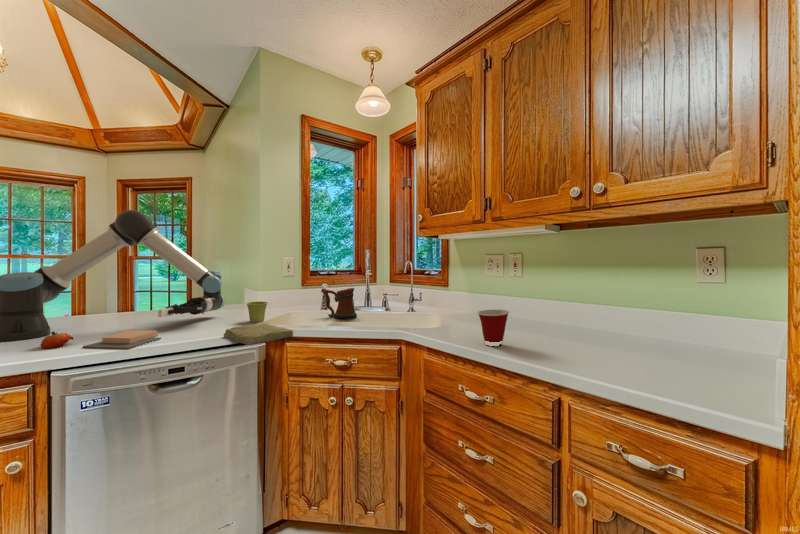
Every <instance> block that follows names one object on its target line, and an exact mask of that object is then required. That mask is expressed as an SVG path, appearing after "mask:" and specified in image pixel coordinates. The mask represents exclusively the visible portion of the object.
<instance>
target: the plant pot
mask: <svg viewBox="0 0 800 534" xmlns="http://www.w3.org/2000/svg"><path fill="white" fill-rule="evenodd" d="M268 303H269V302H268V301H249V302H246V303H245V304H246V307H247V309H248V311H247V312H248V317H249V322H250V323H255V322H256V323H262V322H264V321H265V317H266V310H267V306H268Z"/></svg>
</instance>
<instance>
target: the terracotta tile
mask: <svg viewBox="0 0 800 534" xmlns="http://www.w3.org/2000/svg"><path fill="white" fill-rule="evenodd" d="M158 333H159V332H158V330H140V329H139V330H138V329H137V330H136V329H132V330H127V331H123V332H120V333H119V332H118V333H115V334H112V335H106V336H103V337H102V338H101V339H102V340H101V341H102V343H105V344H133V343H136V342H140V341H143V340H146V339H150V338H153V337H156V338H158V336H159V335H158Z"/></svg>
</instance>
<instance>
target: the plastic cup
mask: <svg viewBox="0 0 800 534" xmlns="http://www.w3.org/2000/svg"><path fill="white" fill-rule="evenodd" d="M509 313H510V311H509V310H507V309H497V308H496V309H484V310H479V311H477V315H478V316H479V320H480V324H481V331H482V336H483V341H484V340H485V341H489V342H500V341H504V336H505V330H506V325H507V321H508V315H509Z"/></svg>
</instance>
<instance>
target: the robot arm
mask: <svg viewBox="0 0 800 534" xmlns="http://www.w3.org/2000/svg"><path fill="white" fill-rule="evenodd" d="M135 244H137V245H139V246H141V245H142V246H145V248H147V249H149V250H150V251H151V252H153V253H154V254H156V255H157V256H158V257H159V258H161V259H163V260H164V261H165V262H167V263H168V264H169V265H170V266H172V267H173V268H175V269H176V270H178V271H179V272H180V273H182V274H183V275H185V277H187V278H188V279H189V280H191V281H192V282H194V283H195V284H197V285H198V286H199V287H201V288H202V291H203V294H202V296H198V297H192V298H190V299H188V301H187V302H184V303H181V304H176V303H175V304H173V305H170V306H165V308H162V309H158V310H157V317H158V318H159V317H160V318H164V317H168V316H169V317H170V316H173V315H178V314H179V315H183V314H190V315H199V314H202V315H204V314H205V313H208V312H212V311H213V312H214V311H216V310H219V309H221V308H223V307H224V306H225V304H226V299H225V296H223V294H222V291H221V290H222V289H221V288H222V286H223V285H222V284H223V283H222V274H221V270H216V269H215V270H213V269H212V270H211V269H207V267H205V266H203V264H201V263H200V262H198V261H197V260H196V259H194V258H193V257H191V256H190V255H189V254H188V253H186V252H185V251H183V249H181V248H180V247H179V246H178V245H176V244H175V243H173V242H172V241H171V240H170V239H168V238H167V237H166V236H164V235H163V234H162V233H160V232H159V230H158V227H156V226H155V225H154V222H153V221H152V219H151V218H150V217H149V216H148V215H147V214H145V213H143V212H141V211H138V210H135V209H127V210H123V211H122V212H119V213H118V214H117V216H116V218H115V221H113V222H112V223H110V224H109V225H108V228H107V231H105V232H103V233H102V234H100V235H98V236H97V237H96V238H94V239H92V240H90V241H89V242H88V243H86V244H84V245H83V246H81V247H79V248H78V249H77V250H75V251H73V252H71V253H69V254H68V255H67V256H65V257H64V258H61V259H60V260H59V261H57V262H56V263H53V264H52V265H43V266H41V267H39V268H38V269H35V271H32V272H31V271H30V272H29V271H27V272H26V271H24V272H12V273H11V272H10V273H4V274H0V342H9V341H10V342H12V341H13V342H14V341H21V340H29V339H36V338H42V337H47V336H49V335H51V327H50V325H49V323H48V320H47V318H46V317H45V314H44V304H45V303H48V302H51V301H53V300H55V299H56V298H57V297H58V296H60V295H61V293H63V292H65V290H67V289H68V288H70V285H71V282H72V281H74V280H75V279H76V278H78V277H79V276H82V275H83V274H85V273H86V272H87V271H89V270H90V269H92V268H93V267H95V266H96V265H98V264H100V263H101V262H103V261H104V260H106V259H107V258H109V257H110V256H111V255H113V254H115V253H116V252H118V251H120V250H121V249H122V248H124V247H133V246H134V245H135Z"/></svg>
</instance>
